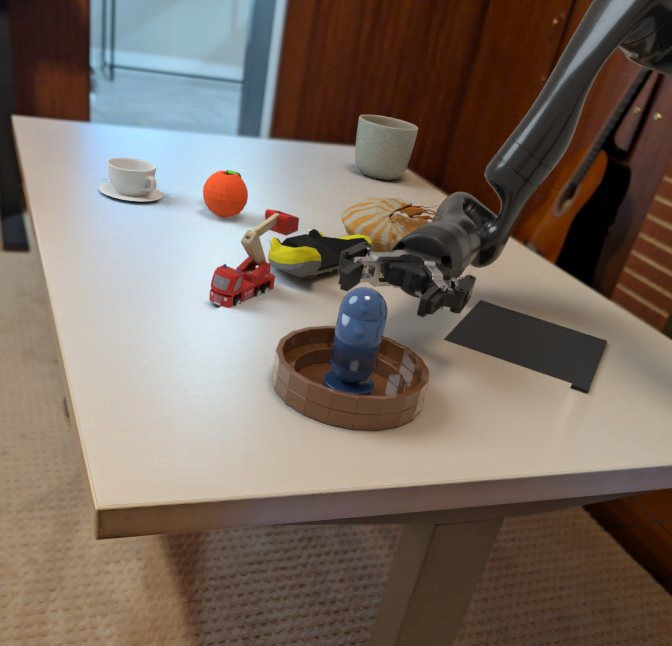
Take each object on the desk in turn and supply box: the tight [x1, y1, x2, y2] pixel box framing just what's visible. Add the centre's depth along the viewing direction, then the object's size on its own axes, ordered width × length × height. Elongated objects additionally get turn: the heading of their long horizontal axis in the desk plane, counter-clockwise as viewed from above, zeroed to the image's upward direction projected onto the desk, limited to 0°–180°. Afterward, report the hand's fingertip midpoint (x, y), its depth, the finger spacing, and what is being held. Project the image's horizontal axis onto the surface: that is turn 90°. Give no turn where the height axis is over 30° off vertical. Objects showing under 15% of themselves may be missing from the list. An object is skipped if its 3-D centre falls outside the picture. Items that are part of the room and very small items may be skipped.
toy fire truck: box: [209, 208, 300, 309], centre depth 91 cm, size 3×14×10 cm, turn 151°
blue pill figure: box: [322, 286, 389, 396], centre depth 73 cm, size 5×5×11 cm
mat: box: [443, 299, 608, 394], centre depth 96 cm, size 18×18×1 cm
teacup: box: [97, 157, 164, 202], centre depth 119 cm, size 10×10×5 cm
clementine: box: [202, 169, 249, 219], centre depth 117 cm, size 8×7×7 cm
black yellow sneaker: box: [267, 228, 372, 280], centre depth 103 cm, size 15×6×10 cm
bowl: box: [271, 325, 430, 431], centre depth 75 cm, size 15×15×4 cm
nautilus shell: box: [340, 196, 437, 252], centre depth 116 cm, size 8×22×15 cm
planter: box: [354, 114, 419, 181], centre depth 158 cm, size 12×12×11 cm
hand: (382, 294), depth 76 cm, fingers open, 8 cm apart
